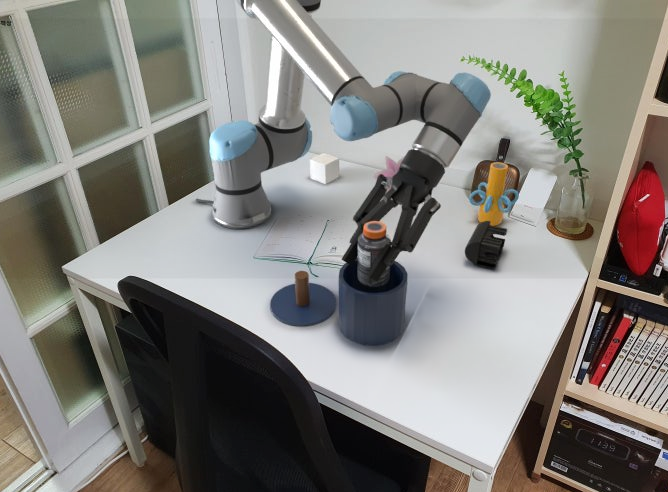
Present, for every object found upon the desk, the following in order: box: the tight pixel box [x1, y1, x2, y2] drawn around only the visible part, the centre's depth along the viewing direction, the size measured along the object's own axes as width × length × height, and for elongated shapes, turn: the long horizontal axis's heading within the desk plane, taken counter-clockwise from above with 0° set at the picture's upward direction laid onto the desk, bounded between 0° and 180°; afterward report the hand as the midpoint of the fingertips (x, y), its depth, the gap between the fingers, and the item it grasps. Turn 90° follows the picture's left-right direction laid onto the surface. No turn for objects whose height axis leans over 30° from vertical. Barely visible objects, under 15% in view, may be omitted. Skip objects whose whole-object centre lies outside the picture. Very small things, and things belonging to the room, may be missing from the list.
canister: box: [338, 257, 409, 347], centre depth 107 cm, size 13×13×12 cm
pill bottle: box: [357, 221, 392, 287], centre depth 101 cm, size 6×6×11 cm
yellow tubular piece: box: [468, 161, 520, 227], centre depth 138 cm, size 12×10×15 cm
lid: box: [269, 270, 337, 327], centre depth 114 cm, size 14×14×8 cm
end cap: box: [464, 221, 508, 271], centre depth 128 cm, size 10×7×7 cm
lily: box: [372, 155, 405, 194], centre depth 155 cm, size 12×12×10 cm
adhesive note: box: [309, 152, 340, 185], centre depth 162 cm, size 6×6×6 cm
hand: (359, 270), depth 100 cm, fingers closed on pill bottle, 6 cm apart
